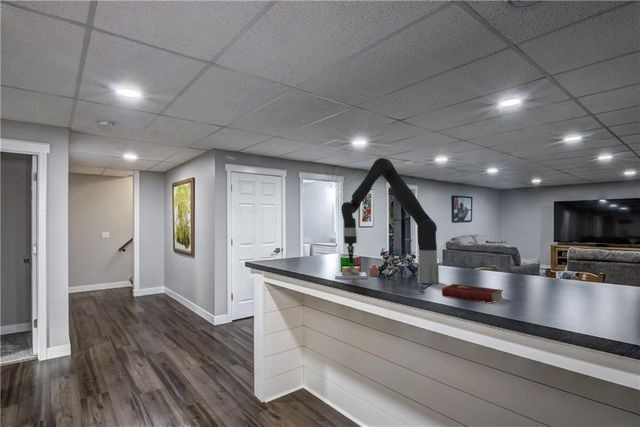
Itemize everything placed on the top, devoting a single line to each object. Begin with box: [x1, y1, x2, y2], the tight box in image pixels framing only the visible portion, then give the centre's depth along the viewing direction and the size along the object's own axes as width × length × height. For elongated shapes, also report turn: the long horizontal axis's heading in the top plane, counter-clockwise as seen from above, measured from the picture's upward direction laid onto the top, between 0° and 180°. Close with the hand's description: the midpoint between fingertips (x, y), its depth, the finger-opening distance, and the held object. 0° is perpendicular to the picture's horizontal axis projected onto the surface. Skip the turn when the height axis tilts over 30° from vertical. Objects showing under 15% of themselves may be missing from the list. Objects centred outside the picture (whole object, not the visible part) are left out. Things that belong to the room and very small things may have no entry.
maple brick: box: [342, 267, 359, 275], centre depth 201 cm, size 10×5×4 cm, turn 85°
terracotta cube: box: [369, 264, 379, 277], centre depth 205 cm, size 5×5×6 cm
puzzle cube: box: [339, 255, 362, 272], centre depth 218 cm, size 10×10×10 cm
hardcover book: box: [441, 283, 504, 304], centre depth 145 cm, size 12×21×4 cm, turn 45°
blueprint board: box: [334, 271, 368, 280], centre depth 201 cm, size 18×14×2 cm
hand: (351, 262), depth 201 cm, fingers open, 8 cm apart
